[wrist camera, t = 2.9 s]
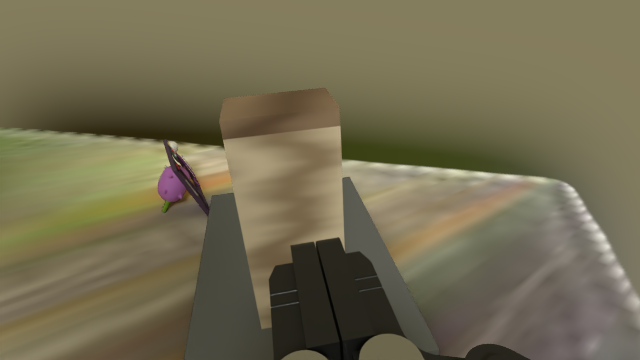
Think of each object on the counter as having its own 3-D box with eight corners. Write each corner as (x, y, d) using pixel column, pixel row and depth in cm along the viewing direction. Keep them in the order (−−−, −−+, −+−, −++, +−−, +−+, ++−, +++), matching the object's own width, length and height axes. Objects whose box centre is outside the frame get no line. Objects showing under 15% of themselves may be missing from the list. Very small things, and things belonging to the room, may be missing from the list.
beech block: (261, 329, 25) (219, 120, 18) (259, 287, 28) (223, 98, 21) (346, 313, 26) (339, 107, 18) (335, 274, 29) (325, 87, 22)
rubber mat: (179, 408, 21) (176, 402, 21) (213, 200, 42) (211, 195, 41) (438, 355, 23) (439, 349, 23) (349, 181, 44) (349, 176, 43)
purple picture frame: (182, 164, 35) (171, 135, 42) (132, 194, 34) (130, 158, 41) (218, 212, 39) (202, 178, 46) (174, 240, 38) (165, 200, 45)
